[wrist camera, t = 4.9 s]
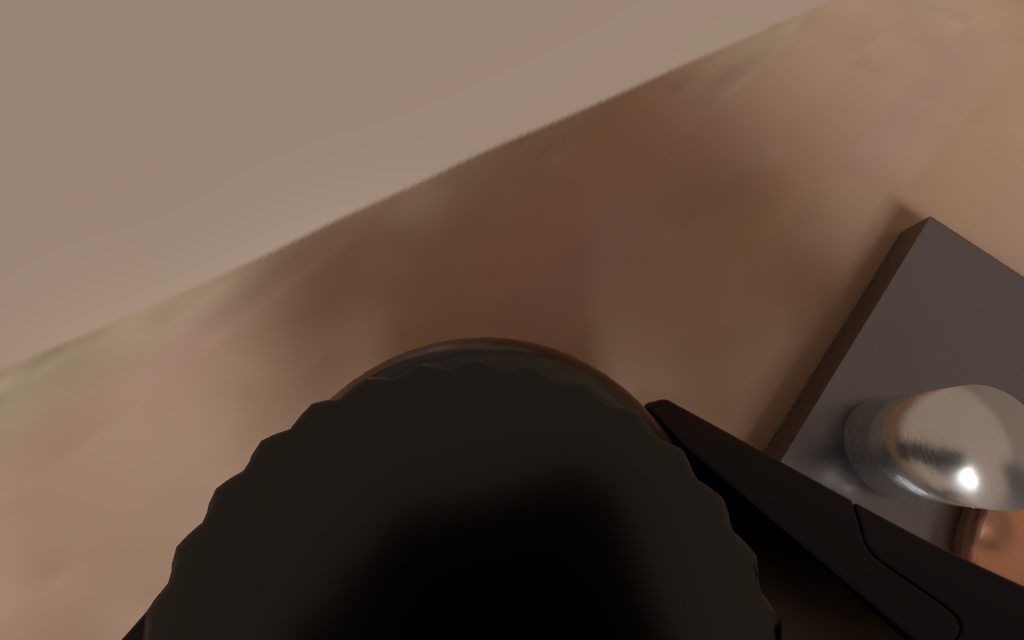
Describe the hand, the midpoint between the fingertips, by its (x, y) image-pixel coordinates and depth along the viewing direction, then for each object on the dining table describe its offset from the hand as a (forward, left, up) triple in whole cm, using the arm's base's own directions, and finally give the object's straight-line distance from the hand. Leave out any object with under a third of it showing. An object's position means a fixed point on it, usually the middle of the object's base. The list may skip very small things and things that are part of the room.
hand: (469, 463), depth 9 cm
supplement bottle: (-1, +1, -7) cm, 7 cm away
